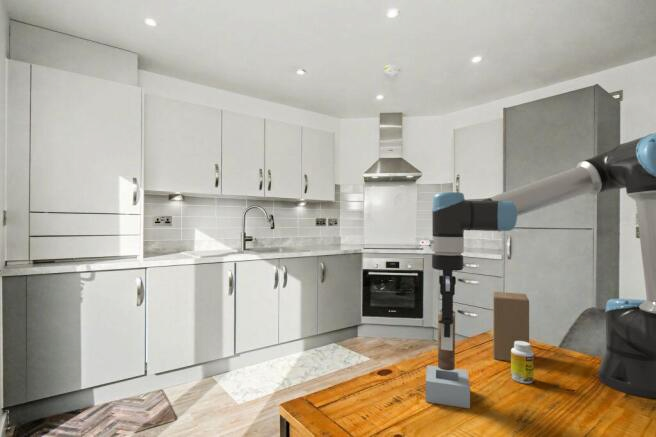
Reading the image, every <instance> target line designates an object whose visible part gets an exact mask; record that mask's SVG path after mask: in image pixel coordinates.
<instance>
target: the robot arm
mask: <svg viewBox="0 0 656 437" xmlns="http://www.w3.org/2000/svg"><path fill="white" fill-rule="evenodd" d="M619 189H625V190H626V191H625V192H626V196H627V197H630V199H632V200H634V201H635V206H636V215H637V224H638V233H639V240H640V242H639V243H640V248H641V252H640V253H641V260H642V268H643V277H644V279H643V280H644V286H645V293H646V295H645V296H646V299H645V300H644V299H634V298H632V299H631V298H628V299H627V298H610V299H608V300H607V302H606V305H605V311H604V312H605V340H606V341H605V345H606V346H605V348H606V349H605V353H604V356H603V358H602V360H601V363H600V365H599V367H598V374H597V375H598V376H597V377H598V380H599V381H600V382H601V383H602V384H604V385H606V386H608V387H609V388H612V389H614V390H617V391H620V392H623V393H626V394H629V395H633V396H638V397H642V398H648V399H656V132H655V133H651V134H647V135H645V136H643V137H642V136H641V137H639V138H636V139H633V140H631V141H627V142H624V143H621V144H618V145H616V146H614V147H612V148H610V149H607V150H605V151H603V152H601V153H598V154H597V155H595V156H593V157H590V158H587V159H585V160H583V161H580V162H578V163H577V165H576V167H574V168H570V169H568V170H564V171H561V172H559V173H557V174H556V173H555V174H554V175H551V176H547V177H545V178H542V179H539V180H536V181H533V182H531V183H530V182H529V183H528V184H525V185H522V186H519V187H516V188H514V189H511V190H508V191H505V192H502V193H499V194H496V195H494V196H490V197H488V198H485V199H482V200H467V199H465V195H464V194H465V193H463V192H460V191H459V192H458V191H457V192H455V191H449V192H448V191H445V192H443V191H442V192H437V193H435V194H434V195H433V197H432V198H433V200H432V201H433V202H432V210H431V212H432V214H431V215H432V234H431V235H432V239H430V240H429V244H432V246H431V247H432V252H433V254H432V256H431V267H432V269H434V270H437V271H442V275H438V279H439V280H438V282H439V286H440V287H439V293H440V296H441V309H440V310H442V319H441V321H440V320H439V323H441V349H442V350H451V351H453V311H454V296H455V291H456V290H455V288H456V287H455V285H456V282H457V279H456V276H455V275H453V271H455V272H458V271H459V272H460V271H462V270H464V255H462V254H463V253H464V251H465V249H464V248H465V246H464V244H465V242H464V240H465V237H464V234H465V233H464V231H481V232H482V231H483V232H484V231H485V232H487V231H488V232H499V233H500V232H509V231H512V230H514V229H515V227H516V225H517V220H518V217H519V216H522V215H525V214H528V213H531V212H534V211H537V210H541V209H543V208H547V207H549V206H552V205H555V204H559V203H562V202H564V201H567V200H569V199H570V200H571V199H573V198H576V197H579V196H582V195H586V194H590V195H598V194H600V193H603V192H608V191H611V190H619Z"/></svg>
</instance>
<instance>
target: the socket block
mask: <svg viewBox="0 0 656 437" xmlns="http://www.w3.org/2000/svg"><path fill="white" fill-rule="evenodd" d="M470 385H471V384H470V378H469V373H468V370H467V369H459V368H455V369H454V370H451V371H447V370H442V369H440V368H439V367H438V365H437V366H436V365H430V364H429V365H427V366H426V375H425V403H433V404H438V405H445V406H452V407H458V408H463V409H464V408H466V409H470V408H471V386H470Z"/></svg>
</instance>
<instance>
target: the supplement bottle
mask: <svg viewBox="0 0 656 437" xmlns="http://www.w3.org/2000/svg"><path fill="white" fill-rule="evenodd" d="M534 356H535V355H534V352H533V350H532V349H531V343H530V342H529V343H528V342H524V341H515V342H514V348H512V349H511V362H510V378H511V379H512V381H513V380H514V381H515V382H517V383H520V384H529V385H530V384H532V383H533V382H534V378H535V377H534V376H535V375H534V374H535V373H534V372H535V371H534V370H535V369H534V368H535V366H534V361H535V360H534V359H535V357H534Z"/></svg>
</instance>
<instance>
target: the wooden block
mask: <svg viewBox="0 0 656 437" xmlns="http://www.w3.org/2000/svg"><path fill="white" fill-rule="evenodd" d="M492 294H493V295H492V296H493V298H492V300H493V305H492V306H493V309H492V310H493V313H492V315H493V319H492V321H493V322H492V324H493V326H492V327H493V328H492V329H493V330H492V335H493V337H492V341H493V342H492V349H493V350H492V352H493V353H492V354H493V359H494V360H497V361H498V360H499V361H505V362H510V363H511V349H512V348H514V342H515V341H524V342H528V343H530V300H529V297H528V296H527V294H525V293H518V292H504V291H493V293H492Z"/></svg>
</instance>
